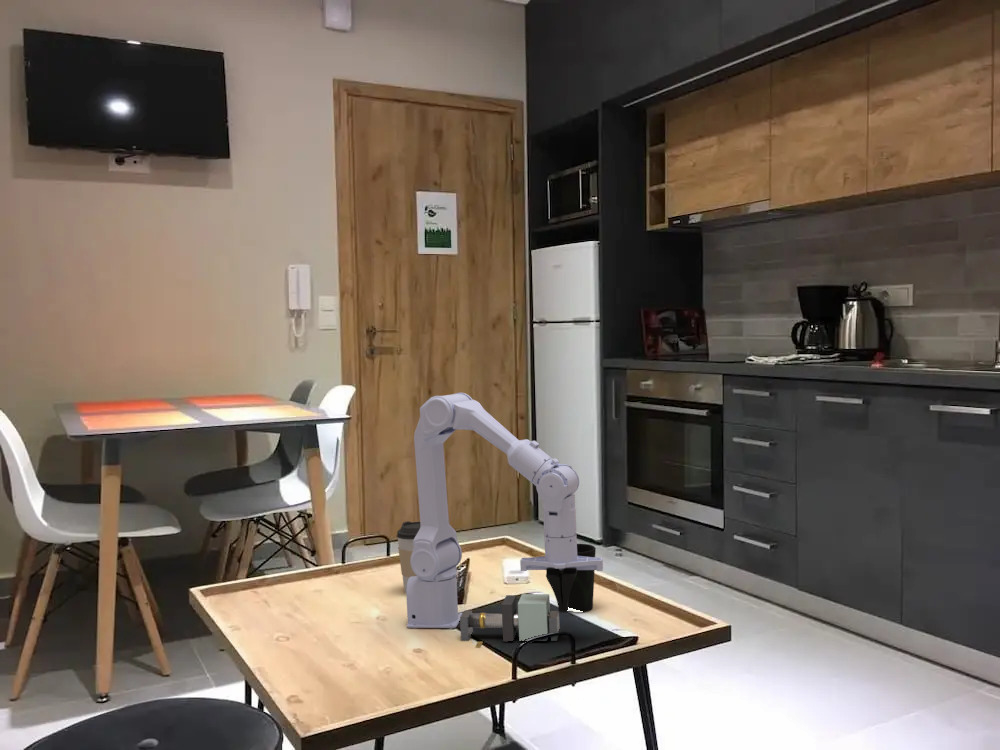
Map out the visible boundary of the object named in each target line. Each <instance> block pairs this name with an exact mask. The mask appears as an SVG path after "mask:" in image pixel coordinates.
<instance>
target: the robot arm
mask: <svg viewBox="0 0 1000 750" xmlns="http://www.w3.org/2000/svg"><path fill="white" fill-rule="evenodd" d="M416 425H417V426H416V428H415V431H414V434H413V443H414V444H413V445H414V453H415V455H414V456H415V466H416V468H415V469H416V482H417V484H416V485H417V496H418V507H419V508H418V509H419V511H418V512H419V522H420V525H421V527H420V529H419V531H418V533H417V535H416V536H415V538H414V540H413V547H414V548H413V552H412V555H411V560H410V562H411V567H412V570H413V572H414V573H415V574H416V575H417V576H411V577H410V578H409V579H408V582H407V590H406V594H405V597H406V613H407V615H406V617H407V618H406V619H407V624H406V628H409V629H410V628H413V629H421V628H422V629H423V628H425V629H428V628H430V629H446V628H447V629H456V628H457V626H458V625H459V624H460V622H459V621H460V617H461V615H462V613H463V612H459V607H458V605H459V604H458V603H459V602H458V588H457V587H458V586H457V584H458V583H457V570H458V569H457V568H458V567H457V566H458V565H459V564H460V563H461V561H462V558H463V552H462V551H463V550H462V547H461V545H460V544H459V541H458V537H457V530H455V528H454V527H453V526H452V525H451V524H450V519H449V505H448V493H447V492H448V489H447V478H446V466H445V451H444V450H445V449H444V443H445V442H446V441H447V440H448V439H449V438H450V437H451V435H452V434H453V433H455V431H457V430H463V431H474V432H475V433H476V434H477V435H479V436H481V437H482V438H483V439H485V440H486V441H488V442H489V443H490V444H491V445H493V446H495V448H498V449H499V450H500V451H501V452H503V453H505V454H506V456H507V458H506V459H507V463H508V465H509V466H510V467H511V468H513V469H514V470H515V471H517V473H519V474H520V475H521V476H523V477H524V478H525V479H527V481H529V482H531V484H532V485H534V486H535V488H536V489H535V490H536V491H537V494H538V496H539V497H540V498H541V500H542V511H543V514H542V516H543V532H544V533H543V536H544V556H543V555H542V556H532V557H521V558H520V560H519V564H520V571H521V572H527V571H545V572H546V574H545V577H546V579H547V581H548V584H549V585H550V587H551V589H552V592H553V594H554V596H555V599H556V603H557V607H558V611H559V613H567V612H568V611H567V610H568V600H569V594H570V590H571V587H572V585H573V582H574V580H575V577H576V574H577V570H595V571H597V572H603V570H604V562H603V561H604V560H603V559H604V558H603V557H596V556H595V557H584V556H577V544H578V540H577V538H578V537H577V519H576V518H577V517H576V513H577V512H576V497H575V496H576V495H575V493H576V492H577V491H578V489H579V486H580V478H579V475H578V473H577V471H576V470H575V469H574V468H573V467H572V466H571V465H570V464H566V463H560V461H559V460H558V458H555V457H554V458H552V457H551V456H550V455H549V454H547V453H546V452H545V451H544V450H543V449H541V448H540V443H539V442H537V441H536V440H529V439H527V438H526V439H520V440H519V439H518V438H517V437H516V436H515V435H514V434H513V433H511V431H509V430H508V429H507V428H506V427H505V426H503V425H502V424H501V423H500V422H499V421H498V420H496V419H495V418H494V417H493V415H491V414H490V413H489V412H487V411H486V409H485V408H484V407H483V406H482V405H481V403H480V402H479V401H478V400H475V399H473V398H472V397H471V395H469V394H467V393H465V392H456V393H453V394H446V395H434V396H432V397H430V398H429V399H428V400H426V402H424V403H423V405H421V406H420V407H419V419H418V422H417V424H416ZM562 570H563V572H562ZM562 587H563V590H562Z"/></svg>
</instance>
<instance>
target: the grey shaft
mask: <svg viewBox="0 0 1000 750" xmlns="http://www.w3.org/2000/svg"><path fill="white" fill-rule="evenodd" d="M461 613H462V615H461V617H460V622H459V626H460V641H464V642H465V641H466V642H467V641H470V639H471V637H472V636H471V634H472V632H473V633H474V629H473V628H479V629H485V628H490V629H491V628H494V629H495V628H498V629H499V628H502V629H503V626H502V613H486V612H480V613H473V611H472V610H471V609H470V610H467V609H466V610H463V612H461ZM547 620H548V628H549V633H552V632H558V631H559V629H561V627H560V612H559V610H550V614H547ZM513 623H514V628H518V629H519V621H518V613H517V614H513ZM472 635H473V634H472ZM482 645H483V641H477V642H476V645H475V647H474V648H481V647H482Z"/></svg>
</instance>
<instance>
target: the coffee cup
mask: <svg viewBox="0 0 1000 750" xmlns="http://www.w3.org/2000/svg"><path fill="white" fill-rule="evenodd" d="M420 527H421V525H420V521H409V520H407V521H404V522H402V524H401V526H400V528H399V529H398V530H397V531H396V533H397V534H396V538H397V543H398V547H397V548H398V556H399V563H400V571H401V572H400V573H401V575H402V581H403V582H402V583H403V589H404V590H403V591H404V594H405V593H406V590H407V582H408V579H409V578H410V577H411V576H417V575H416V574H415V573H414V572H413V570H412V567H411V562H410V560H411V555H412V552H413V548H414V547H413V540H414V538H415V536H416V535H417V533H418V531H419V529H420Z"/></svg>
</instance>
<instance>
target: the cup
mask: <svg viewBox="0 0 1000 750" xmlns="http://www.w3.org/2000/svg"><path fill="white" fill-rule="evenodd" d="M596 552H597V551H596V546H594V545H592V544H589V543H588V544H587V543H577V556H584V557H596ZM595 571H596V570H577V574H576V577H575V580H574V582H573V585H572V587H571V590H570V594H569V600H568V607H569V608H573V609H576V610H580V611H583V613H588V612H591V611H592V610H593V608H594V606H593V605H594V593H595V592H594V589H595V588H594V587H595ZM562 572H563V570H562ZM562 590H563V587H562Z"/></svg>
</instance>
